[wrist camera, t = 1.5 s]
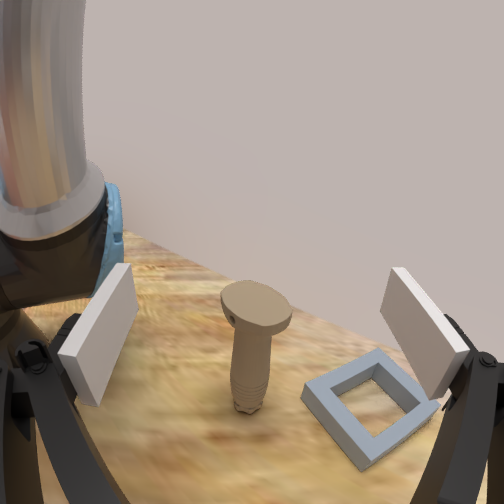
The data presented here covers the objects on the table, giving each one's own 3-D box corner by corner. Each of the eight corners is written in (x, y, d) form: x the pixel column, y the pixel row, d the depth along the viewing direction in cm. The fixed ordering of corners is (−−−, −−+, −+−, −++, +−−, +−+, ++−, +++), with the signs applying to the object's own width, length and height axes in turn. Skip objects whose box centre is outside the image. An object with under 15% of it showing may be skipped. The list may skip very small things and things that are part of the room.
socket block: (300, 398, 34) (305, 382, 32) (372, 362, 39) (378, 347, 38) (361, 472, 25) (371, 461, 23) (430, 418, 30) (441, 404, 28)
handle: (245, 377, 36) (252, 275, 29) (281, 410, 32) (303, 309, 25) (213, 396, 34) (209, 292, 27) (249, 433, 29) (259, 334, 22)
